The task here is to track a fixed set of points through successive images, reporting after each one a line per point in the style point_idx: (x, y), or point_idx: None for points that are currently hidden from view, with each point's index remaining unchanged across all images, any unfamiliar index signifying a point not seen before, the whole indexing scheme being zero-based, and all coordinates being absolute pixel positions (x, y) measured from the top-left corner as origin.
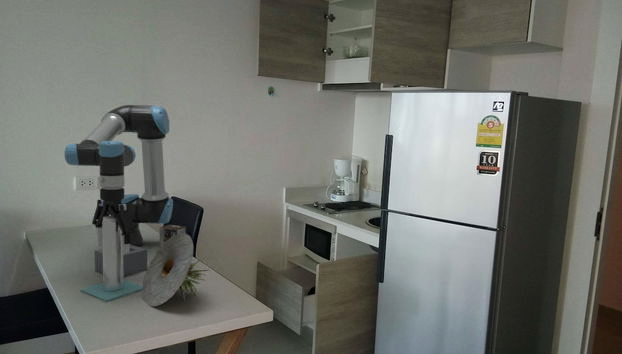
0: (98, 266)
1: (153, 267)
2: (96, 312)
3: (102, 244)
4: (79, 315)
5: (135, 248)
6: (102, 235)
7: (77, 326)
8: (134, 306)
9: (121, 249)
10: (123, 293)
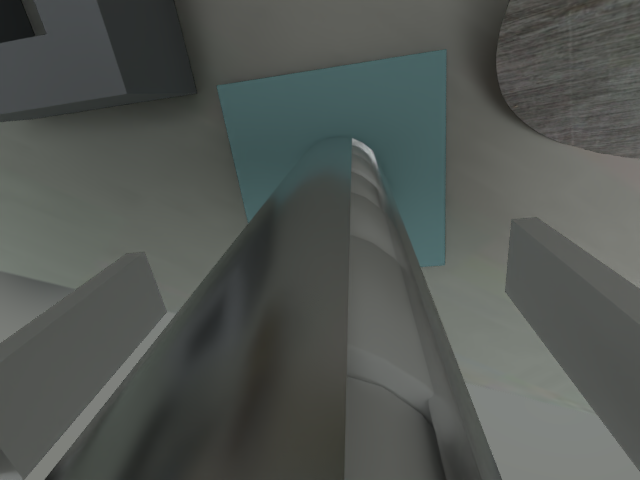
0: (32, 116)
1: (604, 7)
2: (500, 323)
3: (147, 285)
4: (475, 363)
5: None
6: (86, 342)
7: (545, 396)
8: (581, 209)
9: (531, 317)
10: (432, 181)
